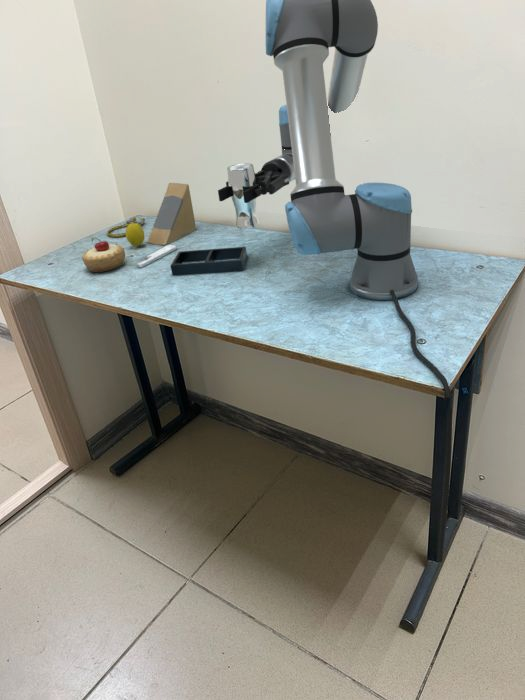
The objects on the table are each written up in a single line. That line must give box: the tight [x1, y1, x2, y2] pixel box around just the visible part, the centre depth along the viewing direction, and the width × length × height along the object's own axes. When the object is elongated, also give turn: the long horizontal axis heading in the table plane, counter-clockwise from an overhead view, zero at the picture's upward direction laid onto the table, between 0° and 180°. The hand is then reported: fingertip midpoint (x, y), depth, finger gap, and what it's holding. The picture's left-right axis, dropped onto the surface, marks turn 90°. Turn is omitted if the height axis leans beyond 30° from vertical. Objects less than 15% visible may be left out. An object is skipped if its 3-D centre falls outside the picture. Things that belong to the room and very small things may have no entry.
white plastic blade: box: [136, 244, 178, 268], centre depth 161 cm, size 5×15×1 cm, turn 145°
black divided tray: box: [170, 246, 248, 277], centre depth 149 cm, size 10×19×3 cm, turn 85°
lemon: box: [125, 222, 145, 248], centre depth 168 cm, size 6×6×8 cm
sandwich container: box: [146, 182, 197, 246], centre depth 172 cm, size 9×15×15 cm, turn 145°
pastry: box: [81, 237, 126, 273], centre depth 156 cm, size 12×12×9 cm
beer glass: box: [226, 162, 260, 230], centre depth 138 cm, size 7×7×15 cm
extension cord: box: [106, 216, 146, 238], centre depth 186 cm, size 12×16×2 cm
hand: (232, 196), depth 134 cm, fingers closed on beer glass, 7 cm apart
